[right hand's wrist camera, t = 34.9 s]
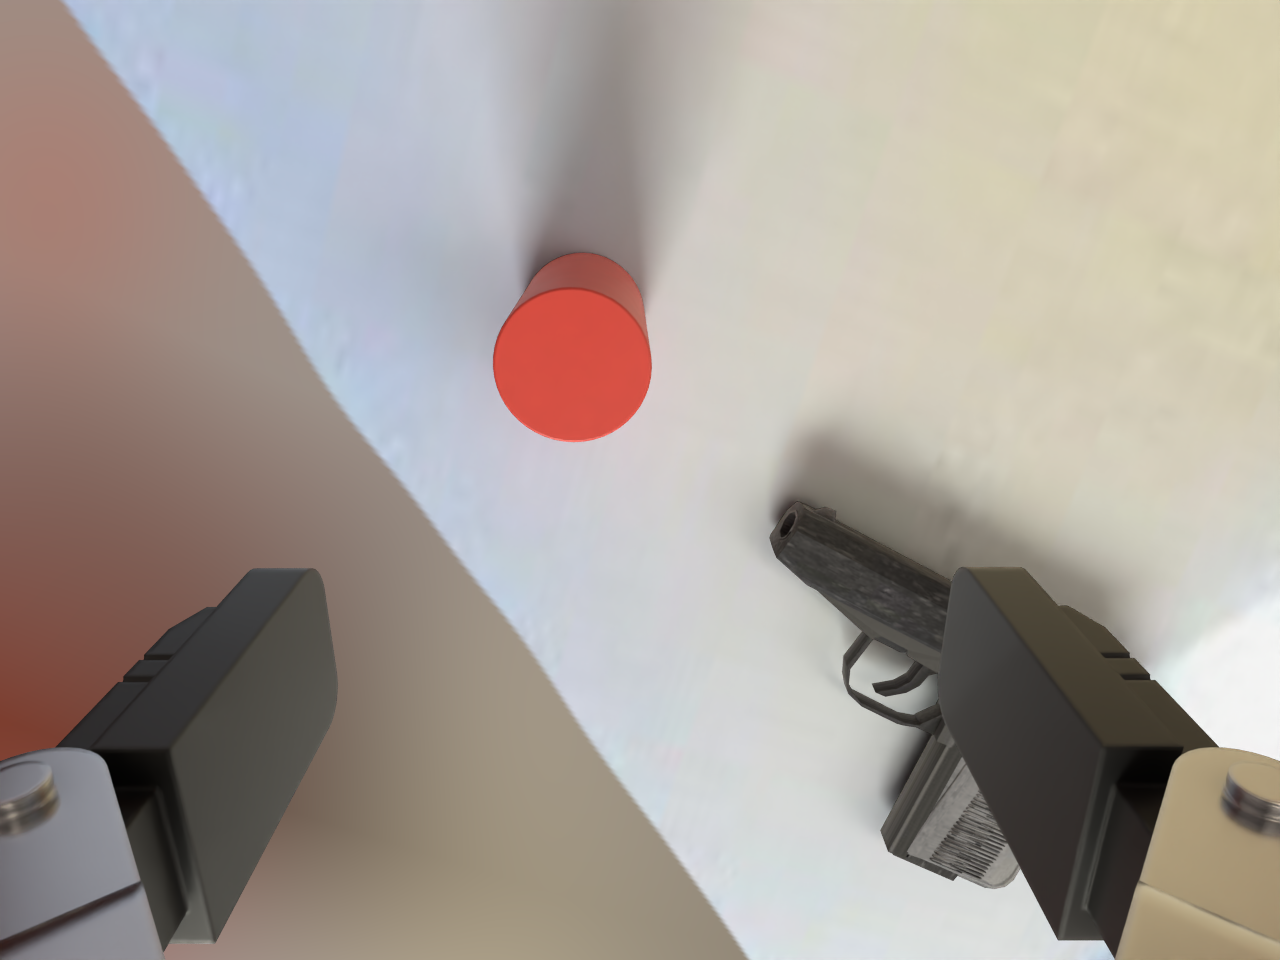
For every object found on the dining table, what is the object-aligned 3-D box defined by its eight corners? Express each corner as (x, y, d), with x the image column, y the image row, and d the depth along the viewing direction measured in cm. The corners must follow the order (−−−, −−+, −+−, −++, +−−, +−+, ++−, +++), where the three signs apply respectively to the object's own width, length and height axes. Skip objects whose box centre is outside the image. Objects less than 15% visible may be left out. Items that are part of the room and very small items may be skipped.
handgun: (646, 717, 37) (801, 484, 33) (980, 869, 40) (1157, 673, 36) (647, 752, 35) (813, 508, 31) (1000, 910, 38) (1190, 706, 34)
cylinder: (652, 261, 30) (663, 299, 23) (635, 381, 32) (640, 452, 24) (528, 244, 30) (499, 276, 22) (517, 365, 31) (486, 432, 24)
